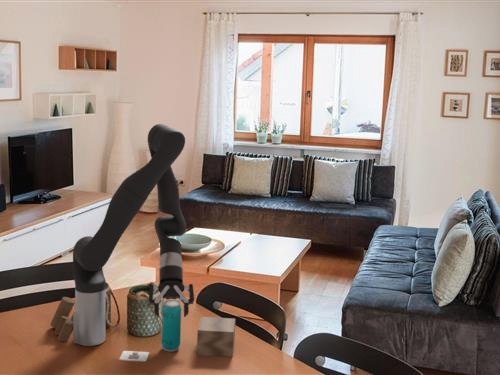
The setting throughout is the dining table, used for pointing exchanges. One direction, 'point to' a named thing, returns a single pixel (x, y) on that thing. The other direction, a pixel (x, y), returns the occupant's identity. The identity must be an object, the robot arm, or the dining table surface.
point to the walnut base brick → (216, 336)
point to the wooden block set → (63, 319)
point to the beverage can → (171, 325)
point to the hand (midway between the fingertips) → (171, 316)
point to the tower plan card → (134, 356)
